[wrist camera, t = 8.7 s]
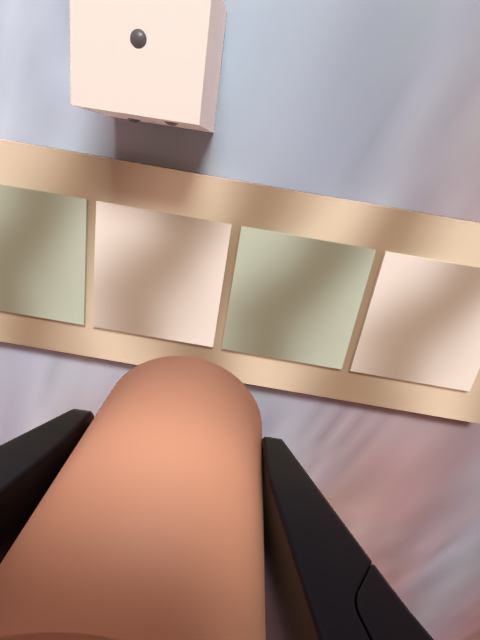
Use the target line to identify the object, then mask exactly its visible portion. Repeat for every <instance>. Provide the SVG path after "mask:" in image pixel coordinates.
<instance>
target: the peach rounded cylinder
mask: <svg viewBox="0 0 480 640" xmlns="http://www.w3.org/2000/svg"><path fill="white" fill-rule="evenodd" d="M0 640H266V627H265V574H264V521H263V479H262V423H261V416H260V411H259V409H258V406H257V403H256V401H255V399H254V397H253V396H252V394H251V393H250V391H249V390H248V388H247V387H246V386H245V385H244V384H243V383H242V382H241V381H240V380H239V379H238V378H237V377H236V376H234V375H233V374H232V373H231V372H229V371H227V370H226V369H224V368H223V367H221V366H219V365H216V364H214V363H212V362H209V361H206V360H203V359H199V358H194V357H187V356H167V357H161V358H156V359H153V360H149V361H147V362H144V363H142V364H140V365H138V366H136V367H134V368H133V369H131V370H130V371H129V372H127V373H126V374H125V375H124V376H123V377H122V378H121V379H120V380H119V381H118V382H117V383H116V385H115V386H114V388H113V390H112V391H111V393H110V394H109V396H108V397H107V399H106V400H105V402H104V403H103V405H102V407H101V408H100V410H99V411H98V413H97V414H96V416H95V417H94V419H93V421H92V422H91V424H90V425H89V427H88V428H87V430H86V431H85V433H84V435H83V436H82V438H81V439H80V441H79V442H78V444H77V445H76V447H75V449H74V450H73V452H72V453H71V455H70V456H69V458H68V459H67V461H66V463H65V464H64V466H63V467H62V469H61V470H60V472H59V473H58V475H57V477H56V478H55V480H54V481H53V483H52V484H51V486H50V487H49V489H48V491H47V492H46V494H45V495H44V497H43V498H42V500H41V501H40V503H39V504H38V506H37V508H36V509H35V511H34V512H33V514H32V515H31V517H30V518H29V520H28V522H27V523H26V525H25V526H24V528H23V529H22V531H21V532H20V534H19V536H18V537H17V539H16V540H15V542H14V543H13V545H12V546H11V548H10V550H9V551H8V553H7V554H6V556H5V557H4V559H3V560H2V562H1V564H0Z"/></svg>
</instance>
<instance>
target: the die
mask: <svg viewBox="0 0 480 640" xmlns="http://www.w3.org/2000/svg"><path fill="white" fill-rule="evenodd" d="M226 17H227V11H226V7H225V3H224V0H70V76H71V105H73V106H76V107H80V108H83V109H87V110H90V111H94V112H97V113H101V114H104V115H108V116H111V117H115V118H121V119H128V120H130V121H132V122H139V121H140V122H147V123H153V124H160V125H166V126H173V127H179V128H185V129H192V130H198V131H205V132H211V133H214V126H215V117H216V108H217V99H218V90H219V80H220V71H221V62H222V53H223V44H224V35H225V26H226Z"/></svg>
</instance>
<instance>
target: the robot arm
mask: <svg viewBox="0 0 480 640" xmlns="http://www.w3.org/2000/svg"><path fill="white" fill-rule="evenodd" d="M93 419H94V415H93V413H92V412H91V411H86V410H79V409H73V410H70V411H68V412H66V413H64V414H62V415H60V416H58V417H56V418H54V419H52V420H50V421H48V422H46V423H44V424H42V425H40V426H38V427H36V428H34V429H32V430H30V431H28V432H26V433H24V434H22V435H20V436H18V437H16V438H14V439H12V440H10V441H8V442H6V443H4V444H2V445H0V564H1V562H2V560H3V559H4V557H5V556H6V554H7V553H8V551H9V550H10V548H11V546H12V545H13V543H14V542H15V540H16V539H17V537H18V536H19V534H20V532H21V531H22V529H23V528H24V526H25V525H26V523H27V522H28V520H29V518H30V517H31V515H32V514H33V512H34V511H35V509H36V508H37V506H38V504H39V503H40V501H41V500H42V498H43V497H44V495H45V494H46V492H47V491H48V489H49V487H50V486H51V484H52V483H53V481H54V480H55V478H56V477H57V475H58V473H59V472H60V470H61V469H62V467H63V466H64V464H65V463H66V461H67V459H68V458H69V456H70V455H71V453H72V452H73V450H74V449H75V447H76V445H77V444H78V442H79V441H80V439H81V438H82V436H83V435H84V433H85V431H86V430H87V428H88V427H89V425H90V424H91V422H92V421H93ZM262 479H263V521H264V574H265V627H266V640H434V639H433V638H432V637H431V636H430V635H429V633H428V632H427V631H426V630H425V629H424V628H423V626H422V625H421V624H420V623H419V622H418V620H417V619H416V618H415V617H414V616H413V614H412V613H411V612H410V611H409V610H408V608H407V607H406V606H405V604H404V603H403V602H402V601H401V599H400V598H399V597H398V595H397V594H396V593H395V591H394V590H393V589H392V588H391V586H390V585H389V584H388V582H387V581H386V580H385V578H384V577H383V576H382V574H381V573H380V572H379V570H378V569H377V568H376V566H375V565H373V564H372V561H371V560H370V558H369V557H368V556H367V554H366V553H365V551H364V550H363V549H362V547H361V546H360V545H359V543H358V542H357V541H356V539H355V538H354V537H353V535H352V534H351V532H350V531H349V530H348V528H347V527H346V526H345V524H344V523H343V522H342V520H341V519H340V518H339V516H338V515H337V513H336V512H335V511H334V509H333V508H332V507H331V505H330V504H329V503H328V501H327V500H326V499H325V497H324V496H323V494H322V493H321V492H320V490H319V489H318V488H317V486H316V485H315V484H314V482H313V481H312V480H311V478H310V477H309V475H308V474H307V473H306V471H305V470H304V469H303V467H302V466H301V465H300V463H299V462H298V461H297V459H296V458H295V456H294V455H293V454H292V452H291V451H290V450H289V448H288V447H287V446H286V444H285V443H284V442H283V440H281V439H278V438H271V437H264V438H263V439H262ZM371 564H372V565H371Z"/></svg>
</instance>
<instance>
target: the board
mask: <svg viewBox="0 0 480 640" xmlns="http://www.w3.org/2000/svg"><path fill="white" fill-rule="evenodd" d="M0 341H1V342H7V343H13V344H18V345H24V346H30V347H36V348H42V349H48V350H53V351H59V352H65V353H71V354H77V355H83V356H88V357H94V358H100V359H106V360H112V361H117V362H123V363H129V364H135V365H140V364H142V363H144V362H147V361H149V360H153V359H156V358H161V357H167V356H187V357H194V358H199V359H203V360H206V361H209V362H212V363H214V364H216V365H219V366H221V367H223V368H224V369H226V370H227V371H229V372H231V373H232V374H233V375H234V376H236V377H237V378H238V379H239V380H240V381H241V382H242V383H245V384H251V385H257V386H263V387H269V388H275V389H280V390H286V391H292V392H298V393H304V394H310V395H315V396H321V397H327V398H333V399H339V400H344V401H350V402H356V403H362V404H368V405H374V406H379V407H385V408H391V409H397V410H403V411H408V412H414V413H420V414H426V415H432V416H438V417H443V418H449V419H455V420H461V421H467V422H473V423H478V424H479V423H480V223H478V222H472V221H466V220H461V219H455V218H449V217H444V216H438V215H432V214H426V213H421V212H415V211H409V210H404V209H398V208H392V207H386V206H381V205H375V204H369V203H364V202H358V201H352V200H346V199H341V198H335V197H329V196H324V195H318V194H312V193H306V192H301V191H295V190H289V189H284V188H278V187H272V186H267V185H261V184H255V183H249V182H244V181H238V180H232V179H227V178H221V177H215V176H209V175H204V174H198V173H192V172H187V171H181V170H175V169H169V168H164V167H158V166H152V165H147V164H141V163H135V162H129V161H124V160H118V159H112V158H107V157H101V156H95V155H89V154H84V153H78V152H72V151H67V150H61V149H55V148H49V147H44V146H38V145H32V144H27V143H21V142H15V141H10V140H4V139H0Z"/></svg>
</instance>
